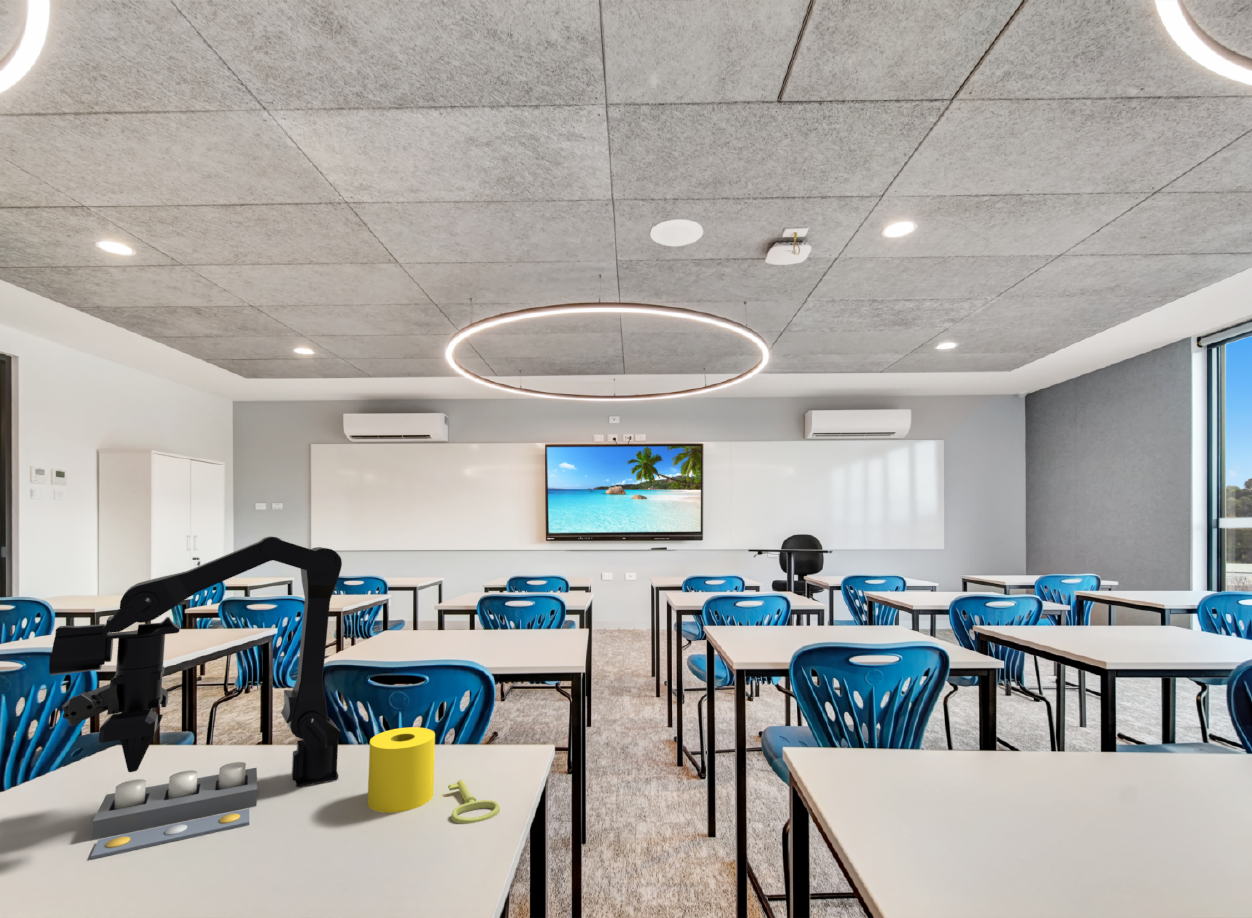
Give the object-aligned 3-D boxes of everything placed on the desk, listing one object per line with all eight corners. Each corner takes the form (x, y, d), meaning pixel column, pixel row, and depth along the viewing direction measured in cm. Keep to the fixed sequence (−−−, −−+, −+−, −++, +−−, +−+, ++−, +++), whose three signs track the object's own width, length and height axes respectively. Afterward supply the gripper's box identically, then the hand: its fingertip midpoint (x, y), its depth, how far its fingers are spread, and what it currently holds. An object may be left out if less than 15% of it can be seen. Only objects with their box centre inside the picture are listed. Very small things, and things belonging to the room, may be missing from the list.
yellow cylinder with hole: (353, 806, 97) (355, 743, 98) (398, 781, 107) (400, 724, 108) (403, 817, 94) (405, 752, 95) (446, 790, 103) (447, 731, 104)
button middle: (197, 788, 99) (198, 768, 100) (195, 796, 96) (196, 776, 96) (169, 793, 97) (170, 773, 98) (166, 802, 94) (168, 781, 95)
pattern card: (249, 811, 96) (249, 806, 96) (249, 824, 91) (249, 820, 92) (98, 842, 86) (98, 838, 86) (90, 859, 82) (90, 854, 82)
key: (461, 790, 104) (461, 777, 104) (505, 815, 95) (505, 800, 96) (421, 805, 98) (422, 791, 99) (464, 832, 90) (465, 817, 90)
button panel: (255, 782, 106) (256, 767, 106) (256, 805, 98) (257, 789, 98) (105, 811, 96) (106, 794, 96) (91, 839, 87) (92, 821, 87)
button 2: (244, 779, 103) (245, 760, 103) (244, 787, 100) (245, 767, 100) (218, 784, 101) (219, 764, 101) (217, 792, 98) (219, 772, 98)
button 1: (146, 797, 96) (147, 777, 96) (142, 806, 93) (144, 785, 93) (116, 803, 94) (117, 782, 94) (112, 812, 91) (113, 791, 91)
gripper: (85, 660, 99) (77, 761, 98) (54, 686, 83) (44, 808, 82) (171, 651, 105) (165, 747, 103) (157, 675, 89) (150, 789, 88)
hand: (132, 770), depth 94 cm, fingers closed
